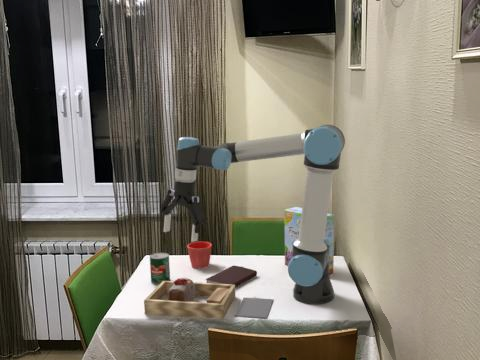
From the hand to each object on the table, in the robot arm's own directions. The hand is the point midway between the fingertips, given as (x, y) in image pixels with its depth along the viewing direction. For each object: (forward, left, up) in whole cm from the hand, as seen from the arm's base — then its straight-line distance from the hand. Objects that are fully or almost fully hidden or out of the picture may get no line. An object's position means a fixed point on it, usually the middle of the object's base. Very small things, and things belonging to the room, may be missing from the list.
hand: (180, 236), depth 190 cm
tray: (-5, +6, -24) cm, 25 cm away
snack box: (-44, -39, -24) cm, 64 cm away
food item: (-2, +6, -24) cm, 25 cm away
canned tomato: (+15, -16, -24) cm, 32 cm away
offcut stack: (-15, +6, -24) cm, 29 cm away
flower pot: (+4, -37, -24) cm, 44 cm away
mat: (-28, +5, -24) cm, 38 cm away
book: (-14, -21, -25) cm, 35 cm away
